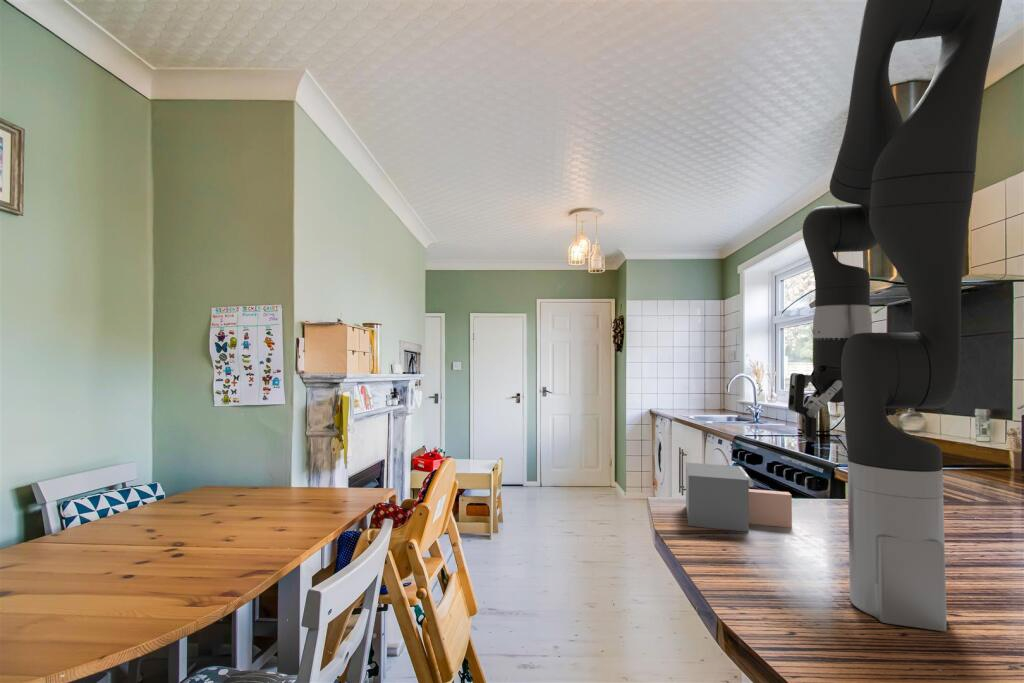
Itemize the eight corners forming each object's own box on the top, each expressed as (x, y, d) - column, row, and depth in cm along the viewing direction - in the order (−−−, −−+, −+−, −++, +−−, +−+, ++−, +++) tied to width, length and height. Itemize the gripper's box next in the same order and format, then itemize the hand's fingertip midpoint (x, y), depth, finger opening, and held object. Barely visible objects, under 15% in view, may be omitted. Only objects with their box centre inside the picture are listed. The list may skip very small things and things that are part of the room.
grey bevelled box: (754, 532, 89) (754, 480, 89) (688, 525, 92) (688, 475, 92) (743, 511, 102) (742, 466, 103) (685, 506, 105) (685, 462, 106)
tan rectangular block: (791, 528, 92) (791, 495, 93) (698, 519, 97) (698, 487, 97) (788, 524, 95) (788, 492, 95) (697, 515, 99) (697, 484, 100)
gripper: (802, 335, 75) (801, 445, 75) (908, 336, 73) (907, 449, 73) (782, 336, 82) (781, 436, 82) (877, 336, 80) (876, 439, 80)
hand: (840, 442), depth 78 cm, fingers open, 8 cm apart
